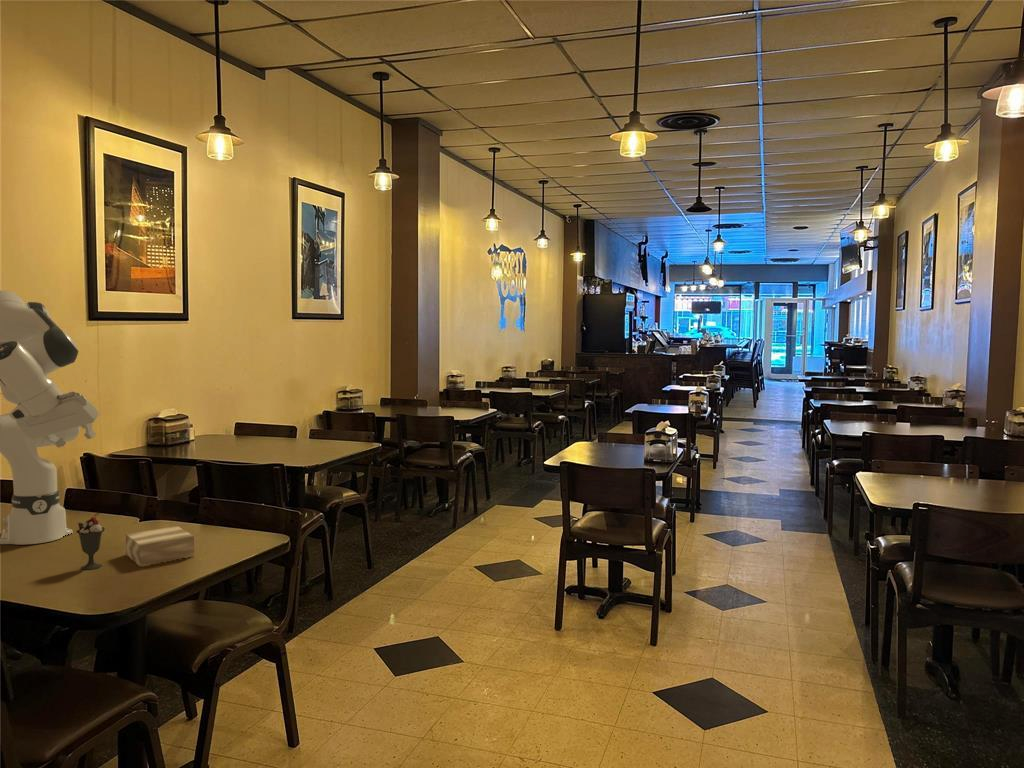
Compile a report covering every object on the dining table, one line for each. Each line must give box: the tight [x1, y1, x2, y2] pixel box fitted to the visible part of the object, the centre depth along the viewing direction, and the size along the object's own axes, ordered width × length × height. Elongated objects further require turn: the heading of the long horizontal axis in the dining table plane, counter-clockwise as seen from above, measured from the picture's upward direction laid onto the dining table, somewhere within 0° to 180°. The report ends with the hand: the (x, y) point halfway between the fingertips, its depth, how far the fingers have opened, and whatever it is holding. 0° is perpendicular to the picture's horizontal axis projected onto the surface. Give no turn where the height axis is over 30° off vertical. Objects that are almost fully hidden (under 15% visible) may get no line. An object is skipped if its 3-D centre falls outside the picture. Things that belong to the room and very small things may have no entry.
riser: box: [125, 525, 195, 568], centre depth 204 cm, size 14×14×6 cm
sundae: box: [76, 511, 105, 571], centre depth 193 cm, size 7×7×15 cm
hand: (77, 441), depth 190 cm, fingers open, 8 cm apart
